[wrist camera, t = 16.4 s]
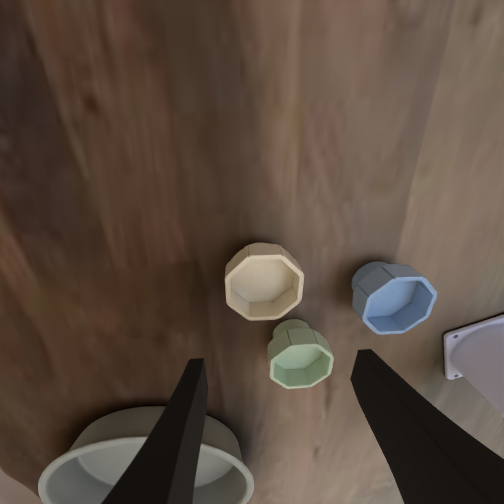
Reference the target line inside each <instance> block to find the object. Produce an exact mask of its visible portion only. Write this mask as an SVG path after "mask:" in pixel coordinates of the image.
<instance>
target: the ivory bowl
mask: <svg viewBox="0 0 504 504" xmlns="http://www.w3.org/2000/svg"><path fill="white" fill-rule="evenodd" d="M303 283H304V274H303V272H302V270H301V268H300V266H299V264H298V262H297V261H296V260H295V259H294V258H293V257H292V256H291V255H290V254H289V253H288V252H287V251H286V250H285V249H283V248H282V247H281V246H280V245H277V244H268V243H253V244H251V245H248V246H245V247H244V248H243V249H242V250H240V251H239V252H238V253H237V254H236V255H235V256H234V257H233V258H232V260H231V261H230V262H229V263H228V264H227V266H226V271H225V288H226V303H227V305H228V306H230V307H231V308H232V309H234V310H235V311H236V312H238V313H239V314H241V315H242V316H243V317H245V318H246V319H247V320H249V319H250V321H251V320H273V319H278V318H279V319H280V318H281V317H282V316H283V315H285V314H286V313H287V312H289V311H290V310H291V309H292V308H294V307H295V306H296V305H297V304H299V303H300V300H302V292H303Z"/></svg>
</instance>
